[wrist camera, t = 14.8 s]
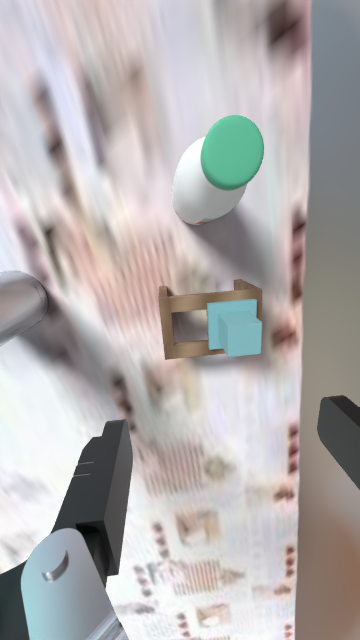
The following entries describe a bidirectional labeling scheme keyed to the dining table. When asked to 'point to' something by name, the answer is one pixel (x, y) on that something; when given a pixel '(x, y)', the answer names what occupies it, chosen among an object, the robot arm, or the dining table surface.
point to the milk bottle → (217, 170)
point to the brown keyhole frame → (199, 303)
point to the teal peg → (234, 327)
